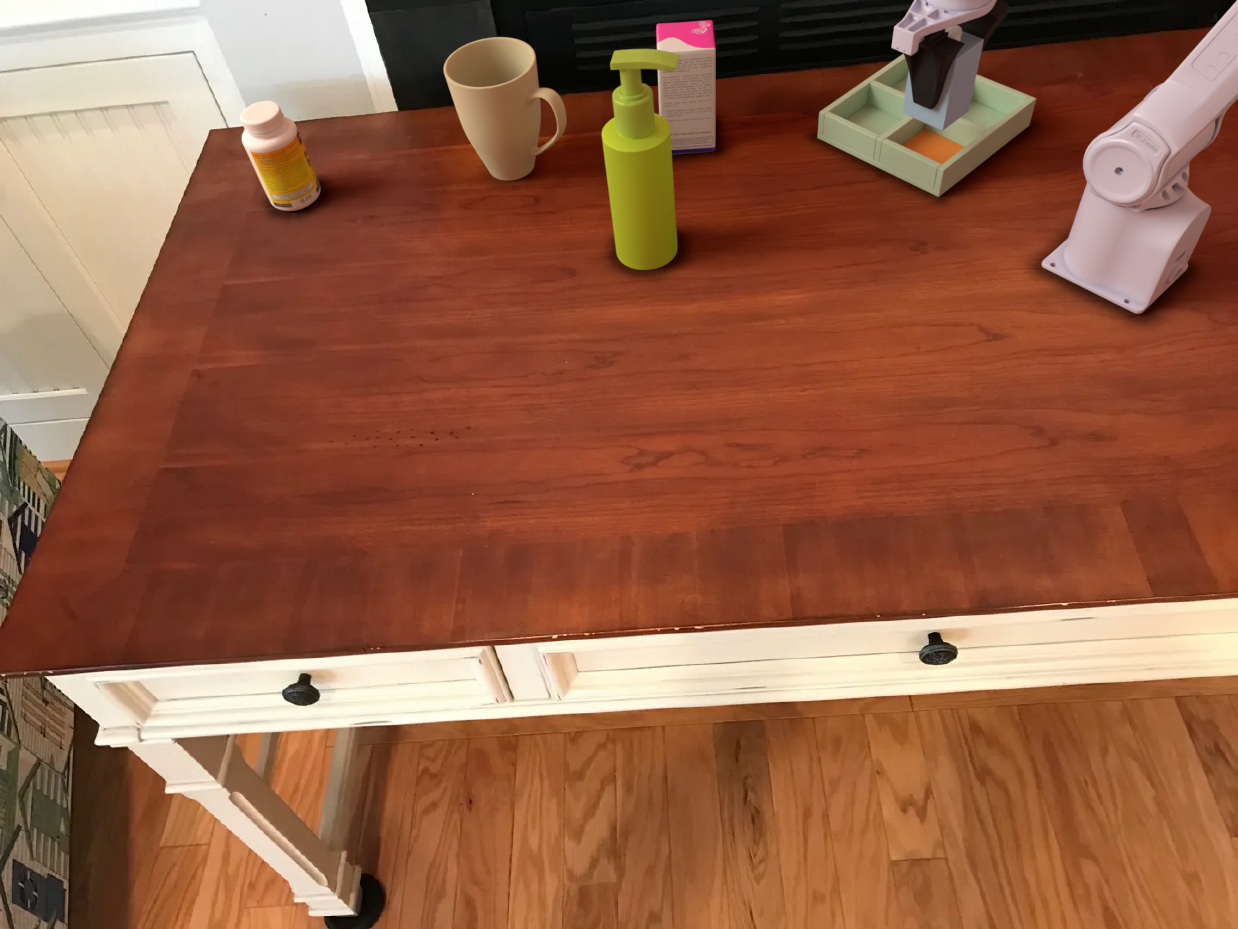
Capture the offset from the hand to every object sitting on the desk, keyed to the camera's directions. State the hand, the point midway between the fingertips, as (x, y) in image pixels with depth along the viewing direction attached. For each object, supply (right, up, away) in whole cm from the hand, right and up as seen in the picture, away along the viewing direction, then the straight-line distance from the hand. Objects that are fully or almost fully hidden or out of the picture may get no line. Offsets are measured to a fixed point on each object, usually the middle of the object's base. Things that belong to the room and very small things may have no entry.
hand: (939, 92), depth 89 cm
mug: (-39, -2, +15) cm, 42 cm away
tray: (+2, +1, +12) cm, 12 cm away
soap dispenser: (-26, -13, +5) cm, 30 cm away
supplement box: (-22, +1, +15) cm, 27 cm away
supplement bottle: (-63, -5, +16) cm, 66 cm away
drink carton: (0, -1, +2) cm, 2 cm away
